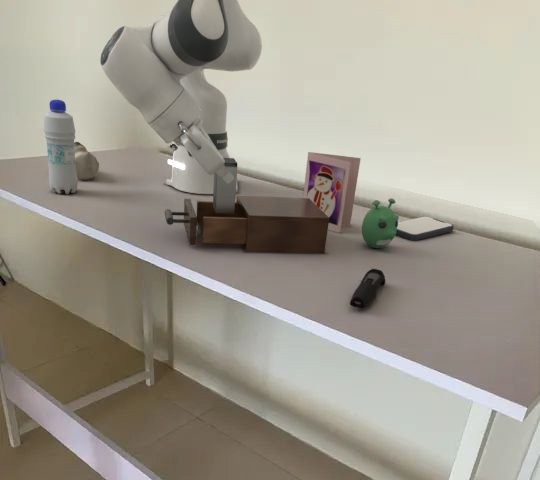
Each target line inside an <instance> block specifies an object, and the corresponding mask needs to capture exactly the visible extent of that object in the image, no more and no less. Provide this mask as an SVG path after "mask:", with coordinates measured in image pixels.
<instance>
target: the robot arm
mask: <svg viewBox="0 0 540 480" xmlns="http://www.w3.org/2000/svg"><path fill="white" fill-rule="evenodd" d="M262 50H263V41H262V37H261V34H260V32H259V29H258V28H257V27H256V25H255V24H254V23H253V22H252V21H251V20H250V19H249V18H248V17H247V16H246V14H245V12H244V11H243V9H242V7H241V5H240V3H239V1H238V0H177V1H176V3H174V5H173V6H172V7H171V9H170V10H168V12H166V14H163V15H160V16H159V17H158V18H156V20H155V22H152V23H148V24H146V25H141V26H133V27H132V26H131V27H130V26H126V25H123V26H121V27H119V28H118V29H116V31H115V32H113V34H112V35H111V38H109V40H108V41H107V43H106V44H105V46H104V48H103V49H102V52H101V54H100V59H99V62H100V66H101V69H102V70H103V72H104V73H105V75H106V77H107V78H108V79H109V81H110V82H111V84H112V85H113V86H114V87H115V88H116V90H117V91H118V92H119V93H120V94H121V96H122V97H123V98H124V99H125V100H126V101H127V102H128V103H129V105H131V106H133V107H135V109H137V110H138V111H139V113H141V115H142V116H143V118H144V120H145V122H146V123H147V124H148V125H149V126H150V127H151V128H152V130H153V131H154V132H155V133H156V134H157V135H158V136H159V137H160V138H161V140H162V141H163V142H164V143H165V144H170V145H169V148H174V149H175V150H174V151H173V154H172V159H167V164H168V165H171V177H170V178H167V179H166V180H165V184H166V185H168V186H170V187H173V188H174V189H176V190H178V191H181V192H186V193H190V194H199V195H213V190H214V173H216V174H217V175H219V176H220V177H221V178H222V179H223V180H224V181H225V182H226V183H227V184H229V183H230V182H232V181H233V180H234V177H233V175H232V174H231V173H230V172H229V171H228V169H227V168H226V167H225V165H224V163H225V161H224V159H223V158H231V157H230V154H229V151H228V149H227V148H228V141H229V139H228V131H227V115H228V100H227V97H226V96H225V94H224V93H223V92H222V91H221V90H220V89H219V88H217V87H216V86H214V84H211V83H209V81H208V80H207V78H206V75H205V71H204V70H212V71H213V70H214V71H221V72H223V71H224V72H231V73H233V72H242V71H243V72H244V71H251V70H252V69H253V68H254V67H256V65H257V63H258V61H259V60H260V58H261V55H262ZM173 142H174V144H172V143H173ZM171 144H172V145H171ZM237 193H238V181H237V182H236V194H237Z"/></svg>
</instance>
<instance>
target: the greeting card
mask: <svg viewBox="0 0 540 480" xmlns="http://www.w3.org/2000/svg"><path fill="white" fill-rule="evenodd" d="M361 159H362V158H361V157H354V156H347V155H337V154H328V153H320V152H314V151H313V152H312V151H308V152H307V159H306V166H305V167H306V169H305V177H304V186H303V192H302V193H303V194H302V198H309V199H310V200H311V201H312V202H313V203H315V204H316V205H317V206H318V207H319V208H320V209H321V210H322V211H323V212H324V213H325V214H326V215H327V216H328V217H329V224H328V230H329V231H333V232H335V233H339V234H341V232H342V231H341V230H342V226H344V227H351V223H352V222H351V221H352V216H353V210H354V204H355V198H356V190H357V184H358V179H359V178H358V177H359V172H360V165H361Z"/></svg>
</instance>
